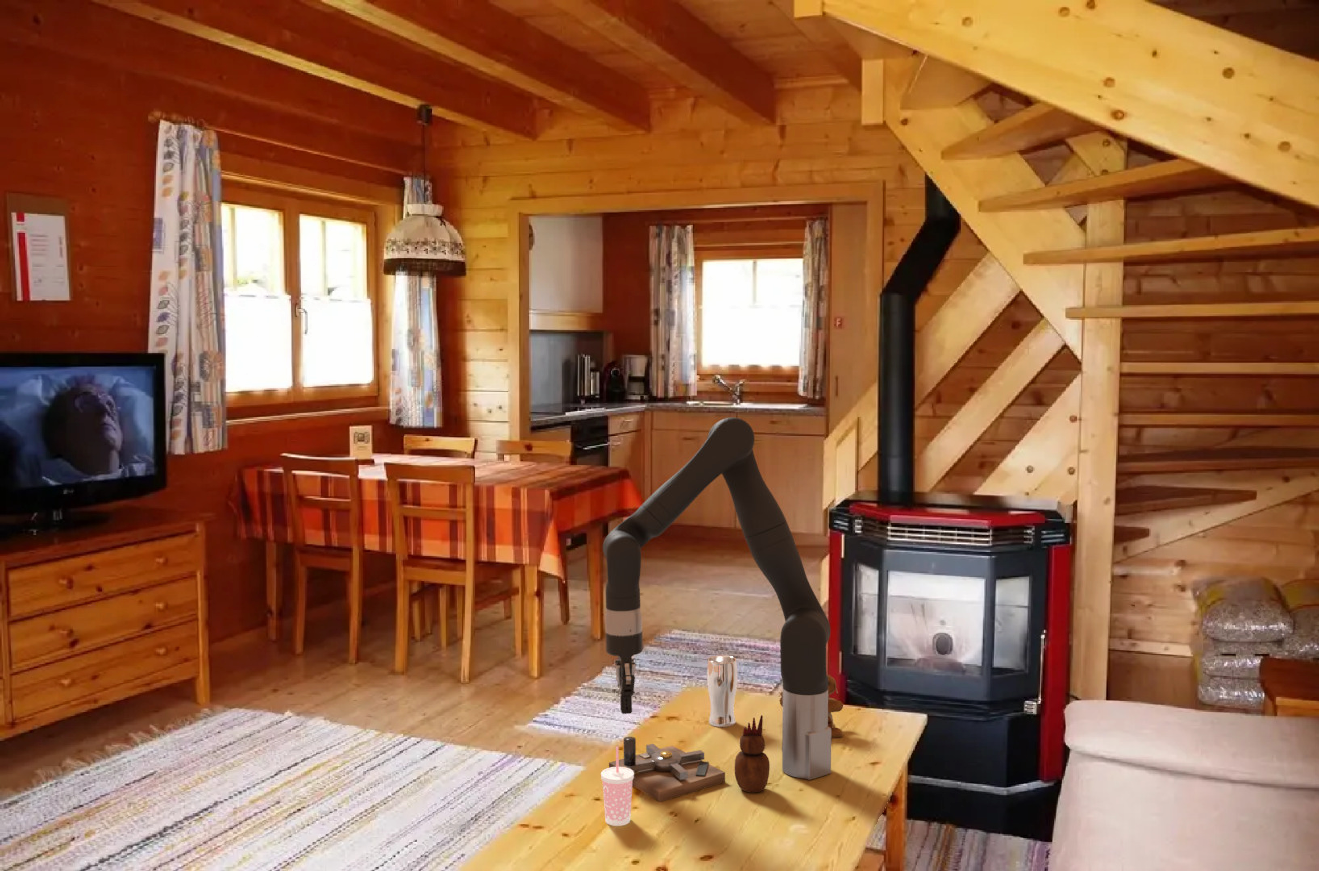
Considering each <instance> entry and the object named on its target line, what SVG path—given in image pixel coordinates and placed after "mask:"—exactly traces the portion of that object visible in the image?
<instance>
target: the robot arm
mask: <svg viewBox="0 0 1319 871" xmlns="http://www.w3.org/2000/svg"><path fill="white" fill-rule="evenodd" d="M706 438H707V439H705V441H704V443H703V444H702V445H701V447H700V448H699V449H698V451H697V452H695V454H694V456H692V458H691V459H689V461H688V462H687V463H686V464H685V465H684V466H683V467H681V468H680V469H679V470H678V471H677V472H676V473H675V474H674V475H672V476H671V477H670V478H669V479H668V480H666V481H665V482H664V483H663V484H662V485H661V486H659V487H658V488H657V489H656V490H655V491H654V492H653V493H652V494H651V495H650V496H649V497H648V498H647V499H646V500H645V501H644V502H643V503H642V504H641V505H640V506H639V507H638V509H637V510H636V511H634V512H633V513H632V514H631V515H630V516H628V517H627V518H625V520H623V521H622V522H620V523H619V524H618V525H617V526H615V528H613V530H610V532H609V533H608V534H607V536H606V537H605V539H604V541H603V544H602V552H603V555H604V557H605V558H606V569H607V570H606V571H607V573H606V574H607V582H606V584H605V620H604V622H605V623H604V625H605V627H604V628H605V630H604V631H605V651H606V653H607V654H608V655H610V656H613V657H617V659H614V662H613V663H614V669H615V678H616V679H615V680H616V683H617V687H618V693H619V698H620V699H619V701H620V702H619V703H620V712H621V714H622V715H627V714H628V715H629V714H631V713H632V712H633V704H632V703H633V700H632V696H633V695H634V693H635V681H636V676H635V672H636V670H637V669H636V662H635V659H634V658H632V657H634V656H635V655H639V654H641V653H642V652H643V648H644V643H643V642H644V641H643V639H644V638H643V615H642V610H641V609H642V608H641V591H640V590H641V589H640V588H641V587H640V578H641V570H642V569H641V566H642V552H641V549H642V548H643V547H644V546H645V545H646V544H648V542H649V541H651V539H653V538H657V537H659V536H660V535H662V534H663V533H664V532H665V531H666V530H667V529H668V528H669V527H671V525H672V524H673V523H674V522H675V521H676V520H677V519H678V518H679V517H680V516H681V515H682V514H683V513H684V512H685V511H686V510H687V509H688V507H690V505H691V504H692V503H693V501H695V500H696V498H697V497H699V495H701V494H702V492H703V491H704V490H705V489H706V488H707V487H708V486H710V484H711V483H712V482H714V481H715V480H716V479H718V477H720V475H722V477H723V479H724V481H725V483H726V485H727V488H728V490H729V493H730V496H731V500H732V503H733V505H734V510H735V513H736V516H737V520H738V522H739V525H740V527H741V531H742V534H743V537H744V539H745V542H746V545H747V546H748V549H749V551H750V553H751V556H752V558H753V560H754V562H755V564H756V565H757V567H758V569H759V570H760V572H761V573H762V574H763V576H764V577H765V578H766V580H767V581H768V583H769V584H770V586H772V588H773V591H774V592H775V593H776V595H777V599H778V601H779V604H780V608H781V610H782V614H783V617H784V621H785V622H784V624H783V626H782V627H781V631H780V641H779V644H780V645H779V646H780V650H779V651H780V652H779V653H780V657H779V658H780V675H781V679H782V692H783V707H782V721H781V722H782V725H781V726H782V730H781V731H782V733H781V734H782V736H781V737H782V743H781V744H782V746H781V749H782V750H781V751H782V753H781V754H782V755H781V756H782V759H781V760H782V762H781V763H782V765H781V766H782V767H781V769H782V771H783V772H784V773H785V774H786V775H788V776H791V777H794V778H799V779H805V780H808V781H811V780H814V779H817V778H820V777H823V776H826V775H829V774H832V738H831V728H829V727H828V696H829V695H828V676H827V674H828V673H827V644H828V642H829V640H830V637H831V625H830V622H829V619H828V617H827V615H826V613H825V610H824V609H823V607H822V606H821V604H820V602H819V599H818V598H817V596H816V594H815V592H814V590H813V588H812V587H811V584H810V582H809V579H808V577H807V574H806V571H805V568H804V564H803V561H802V559H801V556H800V554H799V551H798V548H797V545H796V542H795V538H794V536H793V534H792V531H791V529H790V527H789V524H788V521H787V519H786V516H785V515H784V513H783V510H782V509H781V507H780V505H779V503H778V502H777V500H776V498H775V496H774V495H773V493H772V491H771V490H770V489H769V487H768V486H767V484H766V482H765V481H764V479H763V476H762V474H761V472H760V468H759V466H758V463H757V460H756V457H755V453H754V446H755V442H756V440H755V432H754V430H753V428H752V426H751V425H750V424H749V423H748V421H746V420H743V419H742V418H739V417H734V416H733V417H730V416H729V417H726V418H723V419H720V420H719V421H717V422H716V423H714V424H713V425H712V427H711V428H710V429H709V432H708V434H707V437H706Z"/></svg>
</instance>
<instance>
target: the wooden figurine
mask: <svg viewBox="0 0 1319 871" xmlns="http://www.w3.org/2000/svg"><path fill="white" fill-rule="evenodd" d="M763 717H764V716H763V715H760V717H759V718H760V719H759V722H758V725H757V723H756V718H755V717H752V724H751V723H750V722H748V723H747V726H744V727H743V732H742V735H740V738H739V748H740V751H739V752H738V753H737V754H736V756H735V760H734V775H735V781H736V783H737V785H738V787H739V788H740V789H741V790H743V791H744V792H748V793H751V794H753V793H760V792H762V791H764V789H765V788H766V787H767V785H768V782H769V778H770V770H771V769H770V759H769V756H768V755H767V754H766V753H764V751H765V748H766V742H765V738H764V736H763V722H764V721H763Z"/></svg>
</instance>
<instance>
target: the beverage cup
mask: <svg viewBox="0 0 1319 871" xmlns="http://www.w3.org/2000/svg"><path fill="white" fill-rule="evenodd" d="M619 752H620V751H619V746H618V745H617V746H615V761H616V767H611V768H609V767H607V768H605V769H603V770H602V771H601V772H600V778H601V781H602V791H603V806H604V820H605V823H606V824H607V825H610V826H615V827H620V826H626V825H627V824H630V822H631V811H632V798H633V797H632V796H633V795H632V794H633V786H632V781H633V778H634V772H633V770H631V769H629V768H626V767H619V760H620V758H619V756H620V755H619Z"/></svg>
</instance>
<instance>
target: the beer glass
mask: <svg viewBox="0 0 1319 871" xmlns="http://www.w3.org/2000/svg"><path fill="white" fill-rule="evenodd" d="M737 665H738V664H737V658H736V657H734V656H730V655H724V654H723V655H722V654H721V655H713V656H709V657H708V659H707V669H706V670H707V671H706V672H707V673H706V681H707V683H706V684H707V691H708V695H709V701H710V711H709V712H710V714H709V718H708V723H709V725H711V726H713V727H717V728H729V727H732V726H734V725H735V724H736V718H735V712H734V710H735V709H734V707H735V705H734V704H735V698H736V693H737V686H738V666H737Z"/></svg>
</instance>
